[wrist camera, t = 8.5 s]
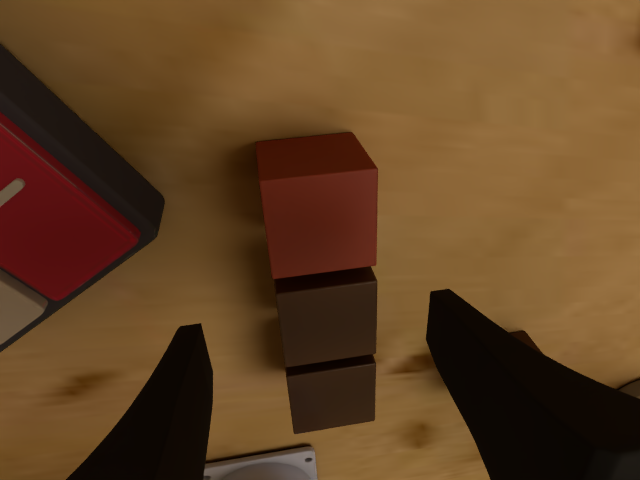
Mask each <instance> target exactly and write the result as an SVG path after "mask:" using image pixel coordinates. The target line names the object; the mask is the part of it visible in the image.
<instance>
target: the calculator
mask: <svg viewBox="0 0 640 480" xmlns="http://www.w3.org/2000/svg"><path fill="white" fill-rule="evenodd" d="M164 204H165V200H164V197H163V196H162V195H161V194H160V193H159V192H158V191H157V190H156V189H155V188H154V187H153V186H152V185H151V184H150V183H149V182H147V181H146V180H145V179H144V178H143V177H142V176H141V175H140V174H139V173H138V172H137V171H136V170H135V169H134V168H132V167H131V166H130V165H129V164H128V163H127V162H126V161H125V160H124V159H123V158H122V157H121V156H120V155H119V154H118V153H116V152H115V151H114V150H113V149H112V148H111V147H110V146H109V145H108V144H107V143H106V142H105V141H104V140H103V139H101V138H100V137H99V136H98V135H97V134H96V133H95V132H94V131H93V130H92V129H91V128H90V127H89V126H88V125H87V124H85V123H84V122H83V121H82V120H81V119H80V118H79V117H78V116H77V115H76V114H75V113H74V112H73V111H72V110H70V109H69V108H68V107H67V106H66V105H65V104H64V103H63V102H62V101H61V100H60V99H59V98H58V97H57V96H55V95H54V94H53V93H52V92H51V91H50V90H49V89H48V88H47V87H46V86H45V85H44V84H43V83H42V82H41V81H39V80H38V79H37V78H36V77H35V76H34V75H33V74H32V73H31V72H30V71H29V70H28V69H27V68H26V67H24V66H23V65H22V64H21V63H20V62H19V61H18V60H17V59H16V58H15V57H14V56H13V55H12V54H11V53H10V52H8V51H7V50H6V49H5V48H4V47H3V46H2V45H1V44H0V352H1V351H3V350H4V349H6V348H7V347H8V346H10V345H11V344H12V343H14V342H15V341H16V340H18V339H19V338H21V337H22V336H23V335H25V334H26V333H27V332H29V331H30V330H32V329H33V328H34V327H36V326H37V325H38V324H40V323H41V322H42V321H44V320H45V319H47V318H48V317H49V316H51V315H52V314H53V313H55V312H56V311H57V310H59V309H60V308H62V307H63V306H64V305H66V304H67V303H68V302H70V301H71V300H72V299H74V298H75V297H77V296H78V295H79V294H81V293H82V292H83V291H85V290H86V289H87V288H89V287H90V286H92V285H93V284H94V283H96V282H97V281H98V280H100V279H101V278H103V277H104V276H105V275H107V274H108V273H109V272H111V271H112V270H113V269H115V268H116V267H118V266H119V265H120V264H122V263H123V262H124V261H126V260H127V259H128V258H130V257H131V256H133V255H134V254H135V253H137V252H138V251H139V250H141V249H142V248H143V247H145V246H146V245H148V244H149V243H150V242H152V241H153V240H154V239H155V238H156V237H157V235H158V231H159V227H160V222H161V218H162V213H163V209H164Z"/></svg>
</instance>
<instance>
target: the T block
mask: <svg viewBox="0 0 640 480" xmlns="http://www.w3.org/2000/svg"><path fill="white" fill-rule="evenodd" d="M274 286H275V295H276V303H277V310H278V318H279V325H280V333H281V340H282V348H283V355H284V363H285V366H286V367H293V366H299V365H306V364H312V363H319V362H325V361H331V360H338V359H344V358H351V357H357V356H364V355H370V354H375V353H376V329H377V279H376V277H375V275H374V272H373V270H372V268H371V266H369V267H361V268H354V269H346V270H339V271H331V272H324V273H316V274H309V275H301V276H293V277H286V278H278V279H274Z"/></svg>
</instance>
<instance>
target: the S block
mask: <svg viewBox="0 0 640 480" xmlns="http://www.w3.org/2000/svg"><path fill="white" fill-rule="evenodd" d="M255 145H256V156H257V167H258V178H259V187H260V194H261V202H262V209H263V217H264V224H265V232H266V239H267V246H268V254H269V261H270V269H271V276H272V279H278V278H286V277H293V276H301V275H309V274H316V273H324V272H331V271H339V270H346V269H354V268H361V267H369V266H375V265H376V253H377V191H378V168H377V167H376V165H375V164H374V163H373V161H372V160H371V158H370V157H369V155H368V154H367V152H366V151H365V150H364V148H363V147H362V145H361V144H360V142H359V141H358V140H357V138H356V137H355V135H354V134H353V133H352V132H349V133H339V134H329V135H320V136H310V137H300V138H290V139H280V140H270V141H260V142H256V143H255Z"/></svg>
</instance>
